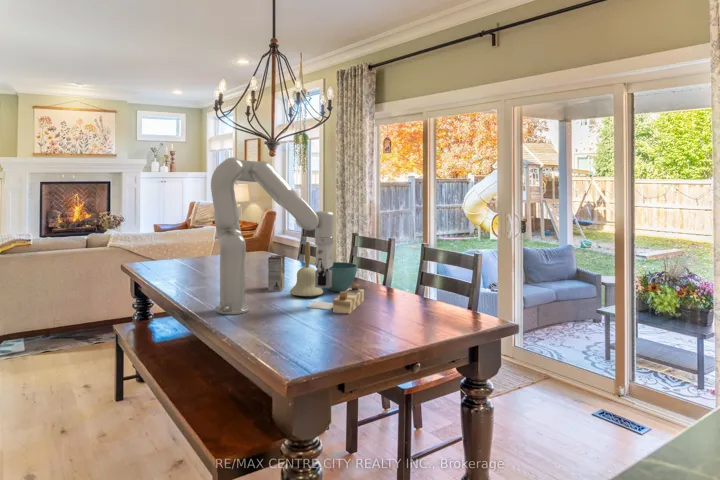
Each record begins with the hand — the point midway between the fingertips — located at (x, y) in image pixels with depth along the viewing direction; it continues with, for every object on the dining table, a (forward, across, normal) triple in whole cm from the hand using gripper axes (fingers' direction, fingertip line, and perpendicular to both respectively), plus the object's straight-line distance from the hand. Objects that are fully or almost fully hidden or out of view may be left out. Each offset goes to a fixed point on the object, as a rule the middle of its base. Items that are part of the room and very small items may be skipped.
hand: (323, 283), depth 204 cm
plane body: (+10, +4, -10) cm, 15 cm away
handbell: (+10, +16, +13) cm, 23 cm away
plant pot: (+10, +33, +3) cm, 35 cm away
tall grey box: (+1, 0, 0) cm, 1 cm away
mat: (+9, 0, 0) cm, 9 cm away
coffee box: (+10, +23, +31) cm, 40 cm away
